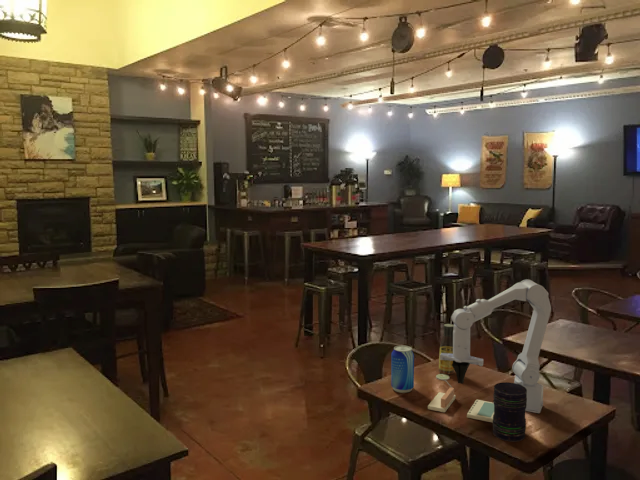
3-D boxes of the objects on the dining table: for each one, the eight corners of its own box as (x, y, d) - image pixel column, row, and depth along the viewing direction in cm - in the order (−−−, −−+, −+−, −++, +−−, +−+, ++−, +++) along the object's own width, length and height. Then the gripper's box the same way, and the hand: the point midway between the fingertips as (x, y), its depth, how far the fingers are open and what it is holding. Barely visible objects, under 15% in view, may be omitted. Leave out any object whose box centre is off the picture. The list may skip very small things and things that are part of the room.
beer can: (418, 390, 210) (418, 348, 207) (401, 395, 205) (402, 353, 203) (403, 383, 216) (403, 343, 214) (386, 388, 212) (386, 347, 210)
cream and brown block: (455, 398, 201) (455, 387, 201) (444, 412, 190) (445, 400, 190) (439, 395, 204) (439, 384, 204) (427, 408, 193) (427, 397, 192)
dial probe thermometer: (447, 389, 209) (434, 374, 223) (447, 392, 209) (434, 376, 224) (460, 388, 209) (446, 373, 224) (460, 391, 209) (446, 375, 224)
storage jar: (504, 423, 182) (506, 379, 180) (532, 435, 174) (533, 389, 172) (485, 432, 176) (487, 387, 174) (513, 445, 168) (514, 397, 166)
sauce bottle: (439, 375, 224) (439, 327, 221) (438, 369, 230) (439, 322, 228) (455, 375, 223) (456, 327, 220) (454, 370, 229) (455, 323, 226)
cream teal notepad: (502, 407, 193) (502, 404, 193) (494, 422, 182) (494, 419, 182) (476, 402, 198) (476, 399, 198) (466, 417, 187) (467, 413, 186)
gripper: (437, 344, 191) (436, 382, 193) (480, 350, 184) (479, 390, 186) (443, 339, 197) (442, 375, 199) (485, 344, 190) (484, 382, 192)
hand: (460, 382), depth 193 cm, fingers closed
